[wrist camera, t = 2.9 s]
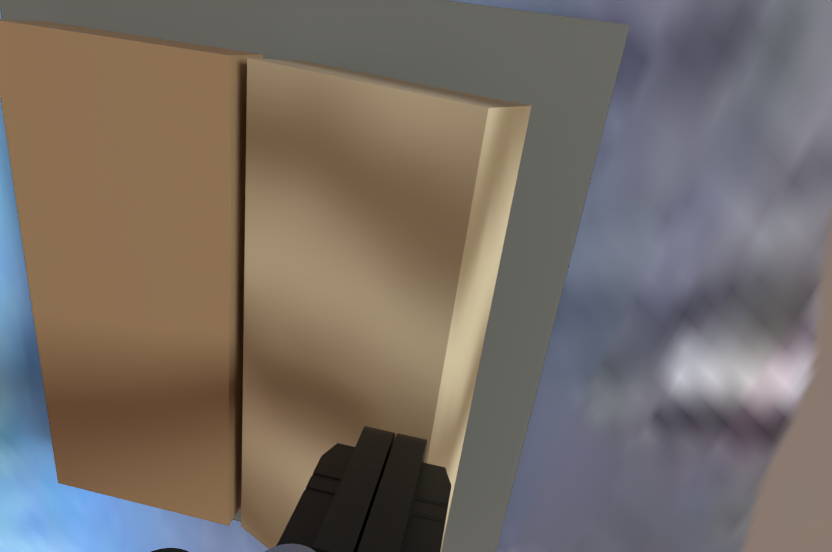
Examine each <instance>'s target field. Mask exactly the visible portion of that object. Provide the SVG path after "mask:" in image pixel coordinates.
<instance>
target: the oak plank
mask: <svg viewBox="0 0 832 552" xmlns="http://www.w3.org/2000/svg"><path fill="white" fill-rule="evenodd" d="M530 111H531V106H530V105H525V104H520V103H515V102H510V101H505V100H500V99H495V98H490V97H485V96H480V95H474V94H469V93H464V92H459V91H454V90H449V89H444V88H439V87H434V86H429V85H424V84H419V83H414V82H409V81H404V80H398V79H393V78H388V77H383V76H378V75H373V74H368V73H363V72H358V71H353V70H348V69H343V68H338V67H333V66H328V65H322V64H317V63H312V62H307V61H296V60H278V59H259V58H247V109H246V185H245V261H244V337H243V413H242V489H241V527H243V528H244V529H245V530H246V531H247V532H249V533H250V534H251V535H252V536H254V537H255V538H256V539H257V540H259V541H260V542H261V543H262V544H263V545H265V546H266V547H267V548H268V549H270V548H272V547H275V546H276V545H277V543H278V542H279V540H280V538H281V536H282V534H283V532H284V530H285V528H286V526H287V524H288V522H289V520H290V518H291V516H292V514H293V512H294V510H295V508H296V506H297V504H298V502H299V500H300V498H301V496H302V494H303V492H304V490H305V489H306V486H307V484H308V482H309V480H310V478H311V476H312V475H313V472H314V470H315V468H316V466H317V464H318V462H319V460H320V458H321V456H322V455H323V454H324V453H326V452H327V451H328V450H329V449H331V448H332V447H333V446H334V445H336V444H337V443H340V444H344V445H349V446H353V447H355V446H356V444H357V442H358V439H359V437H360V435H361V432H362V430H363V428H364V427H365V426H368V427H372V428H377V429H381V430H386V431H390V432H394V433H395V437H396V435H397V433H400V434H404V435H408V436H413V437H417V438H422V439H426V440H427V448H426V453H425V459H424V463H428V464H432V465H437V466H441V467H445V468H446V471H447V474H448V477H449V480H450V483H451V492H450V498H449V503H448V509H447V515H446V521H445V527H444V533H443V539H442V545H443V540H444V535H445V530H446V525H447V520H448V516H449V511H450V506H451V501H452V496H453V491H454V486H455V481H456V476H457V471H458V466H459V461H460V456H461V451H462V446H463V441H464V437H465V432H466V427H467V422H468V417H469V412H470V407H471V402H472V397H473V392H474V387H475V382H476V377H477V372H478V367H479V362H480V358H481V353H482V348H483V343H484V338H485V333H486V328H487V323H488V318H489V313H490V308H491V303H492V298H493V293H494V288H495V283H496V279H497V274H498V269H499V264H500V259H501V254H502V249H503V244H504V239H505V234H506V229H507V224H508V219H509V214H510V209H511V204H512V200H513V195H514V190H515V185H516V180H517V175H518V170H519V165H520V160H521V155H522V150H523V145H524V140H525V135H526V130H527V126H528V121H529V116H530ZM442 545H441V550H442ZM441 550H440V552H441Z"/></svg>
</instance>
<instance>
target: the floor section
mask: <svg viewBox="0 0 832 552" xmlns="http://www.w3.org/2000/svg"><path fill="white" fill-rule="evenodd" d="M0 9H1V16H2V19H0V96H1V103H2V110H3V116H4V123H5V130H6V137H7V143H8V150H9V157H10V163H11V170H12V177H13V183H14V190H15V197H16V203H17V210H18V217H19V223H20V230H21V237H22V244H23V250H24V257H25V264H26V270H27V277H28V284H29V290H30V297H31V304H32V310H33V317H34V324H35V331H36V337H37V344H38V351H39V357H40V364H41V371H42V377H43V384H44V391H45V397H46V404H47V411H48V418H49V424H50V431H51V438H52V444H53V451H54V458H55V464H56V471H57V478H58V483H61V484H65V485H69V486H73V487H77V488H81V489H85V490H89V491H93V492H97V493H101V494H105V495H109V496H113V497H117V498H121V499H125V500H129V501H133V502H137V503H141V504H145V505H149V506H153V507H157V508H161V509H164V510H168V511H172V512H176V513H180V514H184V515H188V516H192V517H196V518H200V519H204V520H208V521H212V522H216V523H220V524H224V525H228V526H229V524H230V523H231V521H232V520H236V521H240V522H241V489H242V413H243V337H244V261H245V185H246V109H247V58H259V59H278V60H296V61H307V62H312V63H317V64H322V65H328V66H333V67H338V68H343V69H348V70H353V71H358V72H363V73H368V74H373V75H378V76H383V77H388V78H393V79H398V80H404V81H409V82H414V83H419V84H424V85H429V86H434V87H439V88H444V89H449V90H454V91H459V92H464V93H469V94H474V95H480V96H485V97H490V98H495V99H500V100H505V101H510V102H515V103H520V104H525V105H530V106H531V111H530V116H529V121H528V126H527V130H526V135H525V140H524V145H523V150H522V155H521V160H520V165H519V170H518V175H517V180H516V185H515V190H514V195H513V200H512V204H511V209H510V214H509V219H508V224H507V229H506V234H505V239H504V244H503V249H502V254H501V259H500V264H499V269H498V274H497V279H496V283H495V288H494V293H493V298H492V303H491V308H490V313H489V318H488V323H487V328H486V333H485V338H484V343H483V348H482V353H481V358H480V362H479V367H478V372H477V377H476V382H475V387H474V392H473V397H472V402H471V407H470V412H469V417H468V422H467V427H466V432H465V437H464V441H463V446H462V451H461V456H460V461H459V466H458V471H457V476H456V481H455V486H454V491H453V496H452V501H451V506H450V511H449V516H448V520H447V525H446V530H445V535H444V540H443V545H442V550H441V552H496V550H497V546H498V542H499V538H500V534H501V530H502V526H503V522H504V518H505V514H506V510H507V506H508V503H509V499H510V495H511V491H512V487H513V483H514V479H515V475H516V471H517V467H518V463H519V459H520V455H521V451H522V447H523V444H524V440H525V436H526V432H527V428H528V424H529V420H530V416H531V412H532V408H533V404H534V400H535V396H536V392H537V388H538V385H539V381H540V377H541V373H542V369H543V365H544V361H545V357H546V353H547V349H548V345H549V341H550V337H551V333H552V330H553V326H554V322H555V318H556V314H557V310H558V306H559V302H560V298H561V294H562V290H563V286H564V282H565V278H566V274H567V271H568V267H569V263H570V259H571V255H572V251H573V247H574V243H575V239H576V235H577V231H578V227H579V223H580V219H581V215H582V212H583V208H584V204H585V200H586V196H587V192H588V188H589V184H590V180H591V176H592V172H593V168H594V164H595V160H596V157H597V153H598V149H599V145H600V141H601V137H602V133H603V129H604V125H605V121H606V117H607V113H608V109H609V105H610V101H611V98H612V94H613V90H614V86H615V82H616V78H617V74H618V70H619V66H620V62H621V58H622V54H623V50H624V46H625V42H626V39H627V35H628V31H629V27H630V25H625V24H618V23H611V22H603V21H596V20H588V19H581V18H574V17H566V16H559V15H551V14H544V13H537V12H529V11H522V10H514V9H507V8H500V7H492V6H485V5H477V4H470V3H463V2H455V1H448V0H0Z"/></svg>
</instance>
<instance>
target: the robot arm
mask: <svg viewBox="0 0 832 552" xmlns="http://www.w3.org/2000/svg"><path fill="white" fill-rule="evenodd" d="M426 448H427V440H426V439H422V438H417V437H413V436H408V435H404V434H400V433H397V435H396V437H395V433H394V432H390V431H386V430H381V429H377V428H372V427H368V426H365V427H364V428H363V430H362V432H361V435H360V437H359V439H358V442H357V444H356V446H355V447H353V446H349V445H344V444H340V443H337V444H336V445H334V446H333V447H332V448H331V449H329V450H328V451H327V452H326V453H324V454H323V455H322V456H321V458H320V460H319V462H318V464H317V466H316V468H315V470H314V472H313V475H312V476H311V478H310V480H309V482H308V484H307V486H306V489H305V490H304V492H303V494H302V496H301V498H300V500H299V502H298V504H297V506H296V508H295V510H294V512H293V514H292V516H291V518H290V520H289V522H288V524H287V526H286V528H285V530H284V532H283V534H282V536H281V538H280V540H279V542H278V543H277V545H276V546H275V547H272V548H270V549H269V550H267V551H265V552H440V550H441V545H442V539H443V533H444V527H445V521H446V515H447V509H448V503H449V498H450V492H451V483H450V480H449V477H448V474H447V471H446V468H445V467H441V466H437V465H432V464H428V463H424V459H425V453H426ZM152 552H188V551H186V550H182V549H177V548H165V549H159V550H155V551H152Z"/></svg>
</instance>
